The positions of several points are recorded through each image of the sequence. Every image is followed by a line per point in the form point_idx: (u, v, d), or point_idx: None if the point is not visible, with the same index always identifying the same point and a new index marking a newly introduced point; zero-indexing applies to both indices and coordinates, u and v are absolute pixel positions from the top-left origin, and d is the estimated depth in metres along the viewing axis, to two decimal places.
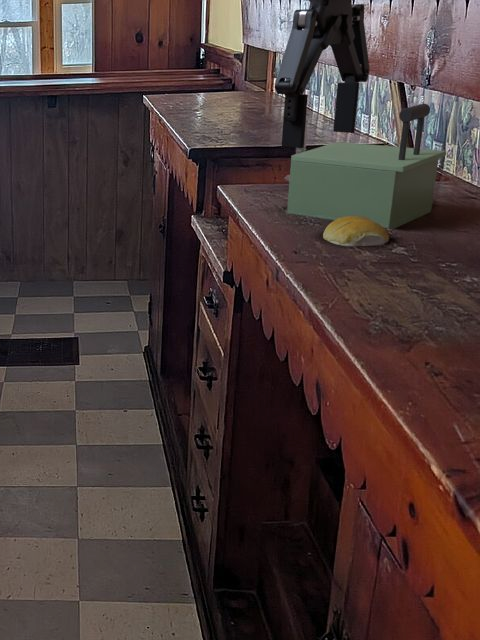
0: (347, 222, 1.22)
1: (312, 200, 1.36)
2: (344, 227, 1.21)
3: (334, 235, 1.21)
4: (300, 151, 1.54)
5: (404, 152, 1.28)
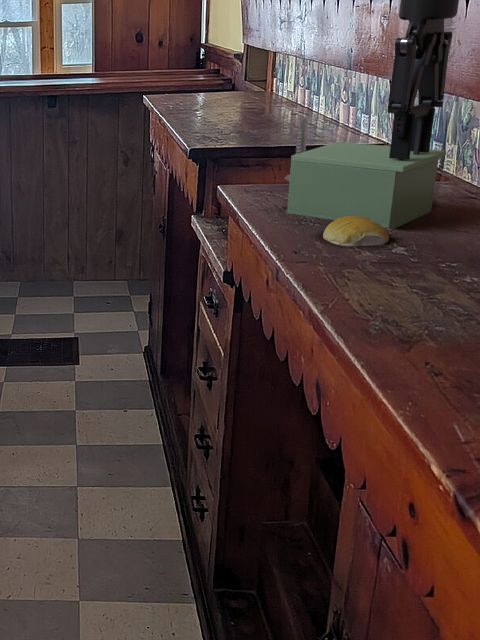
0: (347, 222, 1.22)
1: (312, 200, 1.36)
2: (344, 227, 1.21)
3: (334, 235, 1.21)
4: (300, 151, 1.54)
5: None
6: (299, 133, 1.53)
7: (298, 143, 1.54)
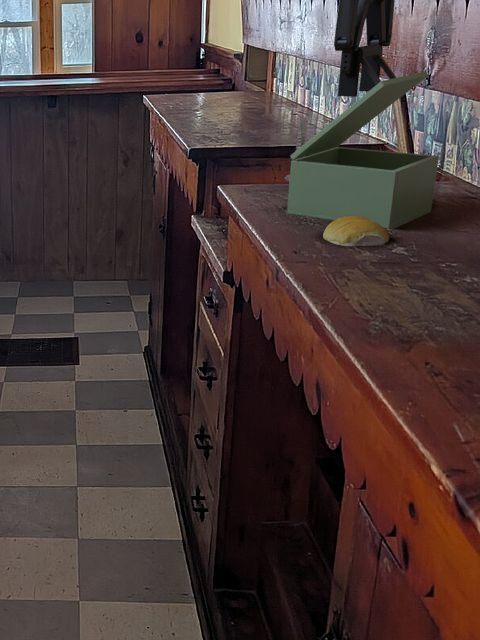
0: (347, 222, 1.22)
1: (312, 200, 1.36)
2: (344, 227, 1.21)
3: (334, 235, 1.21)
4: None
5: (380, 81, 1.28)
6: (299, 133, 1.53)
7: (298, 143, 1.54)
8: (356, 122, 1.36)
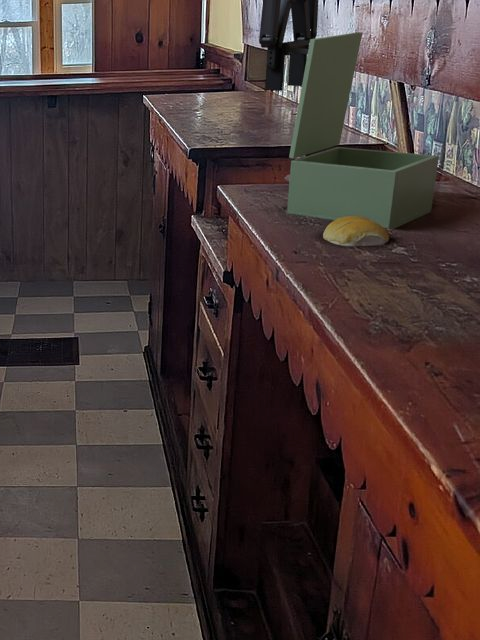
0: (347, 222, 1.22)
1: (312, 200, 1.36)
2: (344, 227, 1.21)
3: (334, 235, 1.21)
4: None
5: None
6: None
7: None
8: (329, 102, 1.38)
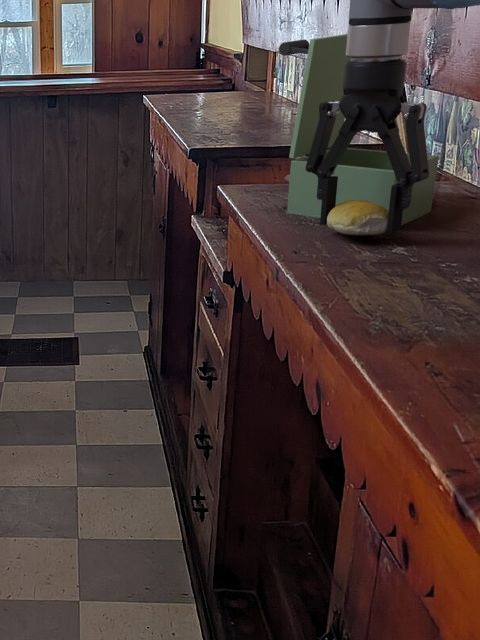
0: (351, 205, 1.21)
1: (312, 200, 1.36)
2: (348, 210, 1.19)
3: (338, 218, 1.20)
4: None
5: None
6: None
7: None
8: None
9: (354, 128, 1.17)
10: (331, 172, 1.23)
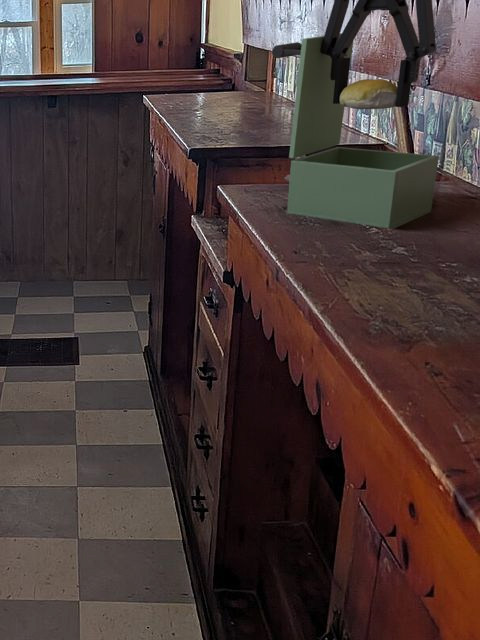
0: (362, 83, 1.30)
1: (312, 200, 1.36)
2: (360, 86, 1.28)
3: (350, 94, 1.29)
4: None
5: None
6: None
7: None
8: (326, 102, 1.38)
9: (367, 7, 1.26)
10: (344, 53, 1.32)
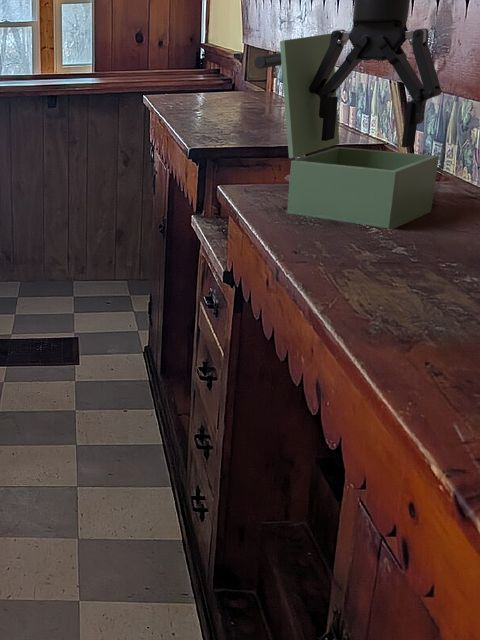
0: None
1: (312, 200, 1.36)
2: None
3: None
4: None
5: None
6: None
7: None
8: (317, 101, 1.40)
9: (359, 57, 1.30)
10: (331, 93, 1.37)
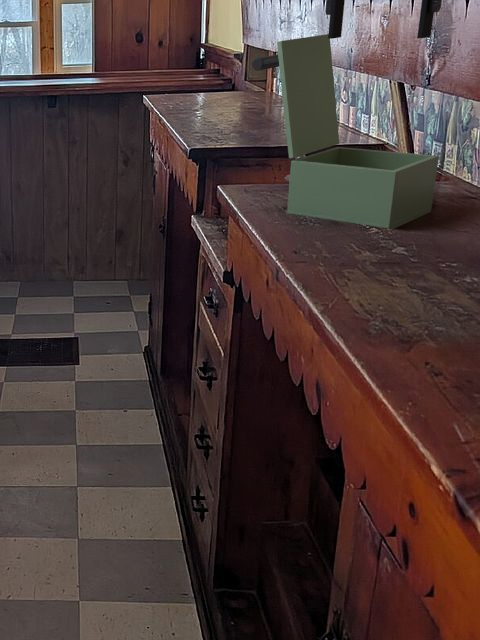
0: None
1: (312, 200, 1.36)
2: None
3: None
4: None
5: None
6: None
7: None
8: (315, 101, 1.40)
9: None
10: None
